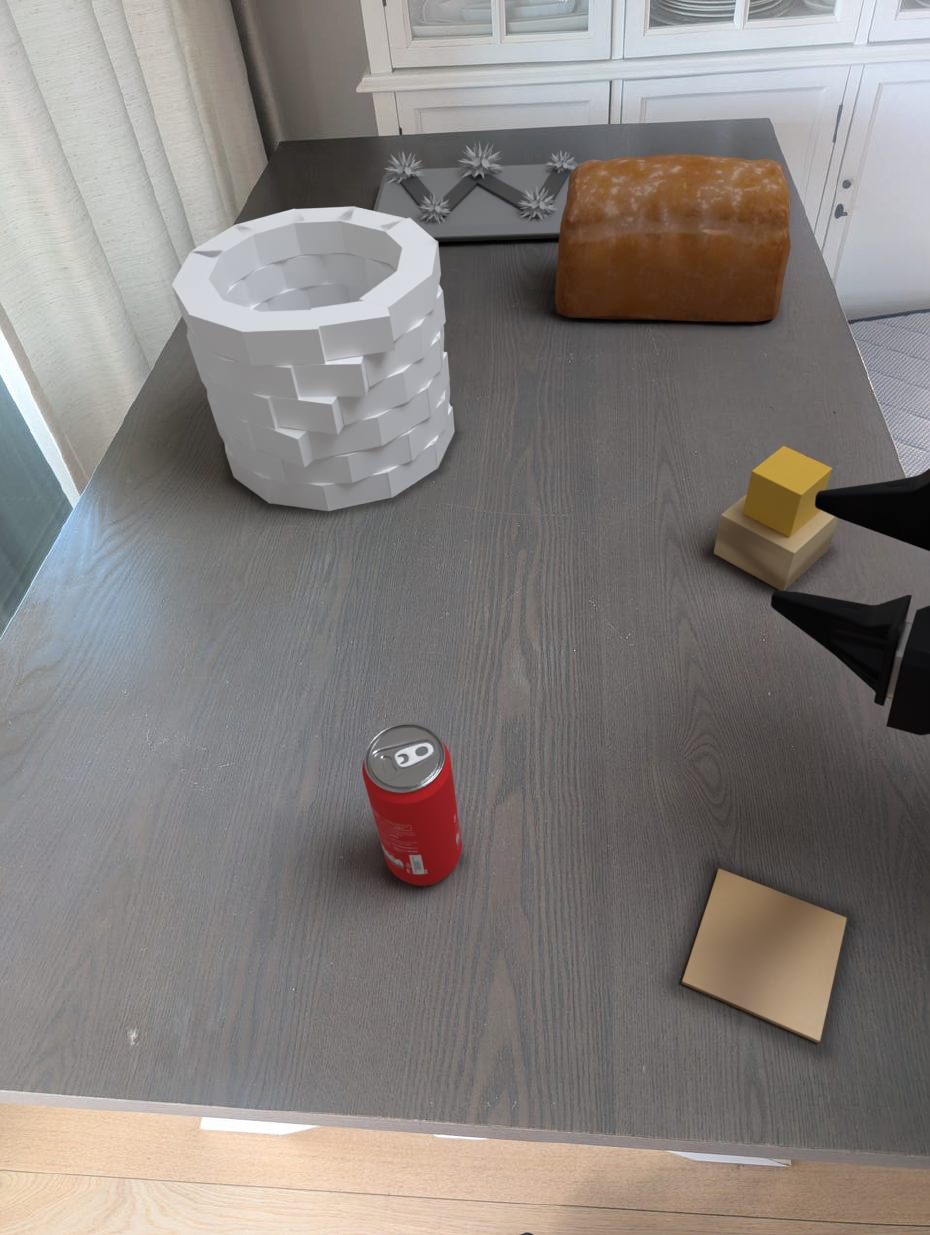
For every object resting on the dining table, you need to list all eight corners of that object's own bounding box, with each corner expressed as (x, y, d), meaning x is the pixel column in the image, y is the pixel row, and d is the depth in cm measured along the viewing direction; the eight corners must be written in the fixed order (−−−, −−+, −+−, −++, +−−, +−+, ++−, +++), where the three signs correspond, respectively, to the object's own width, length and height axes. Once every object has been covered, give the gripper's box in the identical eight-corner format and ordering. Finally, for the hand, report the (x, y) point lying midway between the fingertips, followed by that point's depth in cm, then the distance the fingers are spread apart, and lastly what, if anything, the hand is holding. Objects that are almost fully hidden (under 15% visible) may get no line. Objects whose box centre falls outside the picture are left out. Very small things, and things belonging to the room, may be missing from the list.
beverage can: (375, 839, 61) (348, 738, 52) (445, 810, 62) (429, 707, 54) (402, 904, 58) (377, 809, 49) (475, 873, 59) (463, 774, 50)
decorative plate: (366, 250, 122) (359, 197, 116) (384, 185, 136) (378, 135, 131) (588, 242, 119) (590, 187, 114) (582, 176, 134) (584, 125, 128)
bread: (781, 329, 102) (812, 187, 90) (551, 324, 106) (552, 187, 94) (772, 271, 111) (799, 135, 99) (561, 268, 115) (563, 138, 103)
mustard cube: (820, 511, 74) (833, 467, 71) (789, 538, 72) (801, 495, 69) (772, 487, 77) (783, 445, 73) (742, 513, 75) (751, 470, 71)
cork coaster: (845, 920, 55) (847, 917, 55) (818, 1043, 51) (820, 1041, 50) (718, 870, 58) (718, 867, 58) (681, 983, 54) (681, 981, 53)
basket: (219, 397, 100) (166, 229, 86) (427, 357, 102) (409, 187, 89) (236, 542, 83) (175, 362, 69) (484, 489, 86) (473, 306, 72)
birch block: (828, 550, 77) (841, 510, 74) (783, 592, 74) (794, 553, 71) (759, 514, 81) (768, 474, 78) (713, 553, 78) (720, 514, 75)
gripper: (1174, 371, 45) (849, 342, 52) (1150, 623, 35) (750, 544, 42) (1105, 537, 53) (830, 492, 60) (1069, 783, 43) (743, 694, 50)
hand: (794, 546), depth 53 cm, fingers open, 9 cm apart
